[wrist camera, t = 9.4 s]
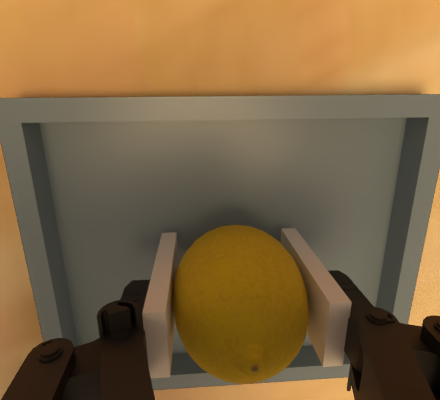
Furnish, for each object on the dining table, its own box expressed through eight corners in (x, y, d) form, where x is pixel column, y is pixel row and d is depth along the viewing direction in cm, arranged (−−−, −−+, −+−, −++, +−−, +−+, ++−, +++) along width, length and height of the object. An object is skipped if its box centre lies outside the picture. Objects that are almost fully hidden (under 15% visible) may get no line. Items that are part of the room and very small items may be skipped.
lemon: (262, 302, 19) (308, 444, 11) (168, 284, 18) (147, 424, 10) (292, 214, 17) (369, 309, 9) (190, 191, 16) (184, 274, 9)
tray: (69, 365, 20) (55, 396, 18) (19, 97, 15) (-9, 98, 13) (378, 346, 21) (397, 373, 19) (421, 94, 17) (454, 93, 14)
